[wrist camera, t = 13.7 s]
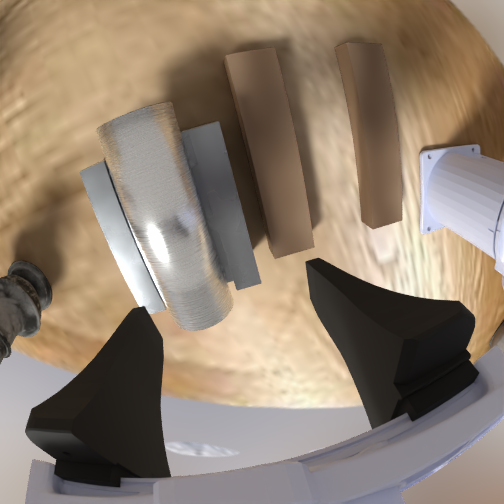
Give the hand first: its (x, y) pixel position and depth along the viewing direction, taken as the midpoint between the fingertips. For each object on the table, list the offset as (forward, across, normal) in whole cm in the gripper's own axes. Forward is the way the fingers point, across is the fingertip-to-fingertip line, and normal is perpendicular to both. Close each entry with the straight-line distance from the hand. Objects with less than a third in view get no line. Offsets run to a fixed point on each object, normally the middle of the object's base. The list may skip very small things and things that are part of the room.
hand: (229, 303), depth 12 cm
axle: (+5, +2, -3) cm, 6 cm away
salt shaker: (+9, +18, 0) cm, 20 cm away
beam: (+9, -9, -4) cm, 13 cm away
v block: (+9, +2, -2) cm, 10 cm away
